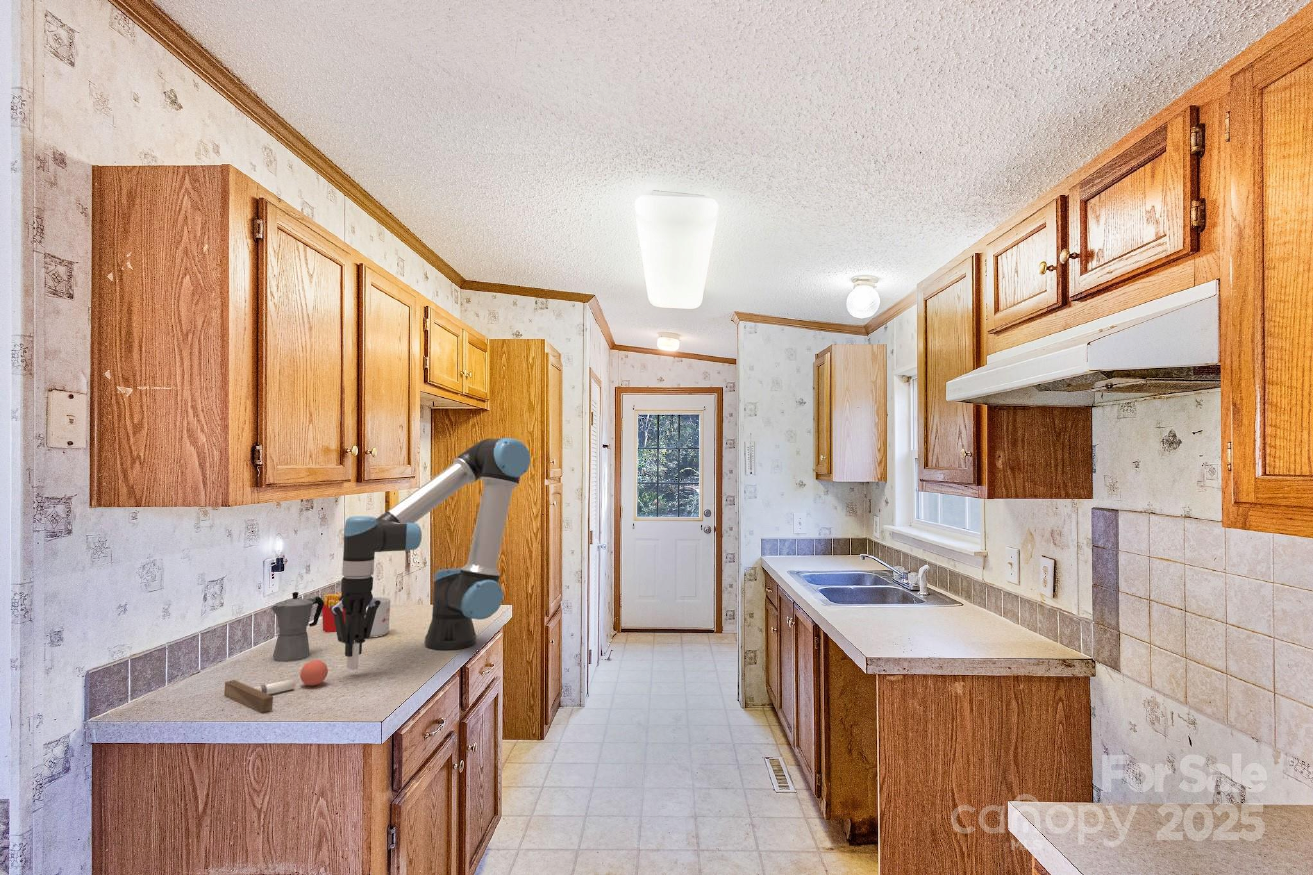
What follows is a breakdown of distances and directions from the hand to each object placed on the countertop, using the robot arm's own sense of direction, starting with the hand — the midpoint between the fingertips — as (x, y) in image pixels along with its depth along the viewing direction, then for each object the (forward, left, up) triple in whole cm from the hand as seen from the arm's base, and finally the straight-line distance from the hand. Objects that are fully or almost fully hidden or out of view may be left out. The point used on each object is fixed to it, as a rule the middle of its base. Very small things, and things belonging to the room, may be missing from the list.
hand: (352, 668), depth 167 cm
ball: (+10, 0, +1) cm, 10 cm away
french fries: (-22, -46, -2) cm, 51 cm away
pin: (+14, -1, -1) cm, 14 cm away
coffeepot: (0, -28, -2) cm, 28 cm away
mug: (-26, -32, -2) cm, 41 cm away
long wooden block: (+25, 0, -2) cm, 25 cm away
